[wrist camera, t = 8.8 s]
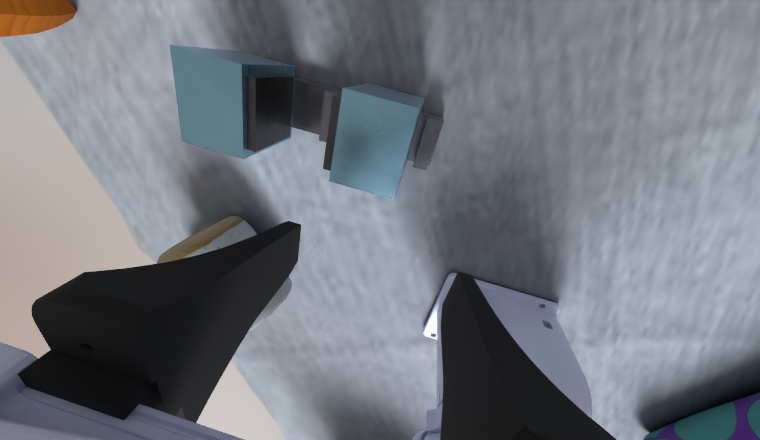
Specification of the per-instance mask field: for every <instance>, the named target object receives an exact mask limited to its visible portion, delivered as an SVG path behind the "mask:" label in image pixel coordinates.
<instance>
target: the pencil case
mask: <svg viewBox="0 0 760 440" xmlns="http://www.w3.org/2000/svg"><path fill="white" fill-rule="evenodd" d="M644 440H760V392H759V393H756V394H754V395H751V396H748V397H744V398H741V399H738V400H735V401H732V402H729V403H726V404H723V405H720V406H717V407H714V408H711V409H708V410H705V411H702V412H699V413H696V414H694V415H691V416H689V417H686V418H683V419H681V420H678V421H676V422H674V423H671V424H669V425H667V426H665V427H662V428H660V429H659V430H656V431H653V432H651V433H649V434H648V435H646V436H645V438H644Z"/></svg>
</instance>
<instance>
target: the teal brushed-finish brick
mask: <svg viewBox="0 0 760 440" xmlns="http://www.w3.org/2000/svg"><path fill="white" fill-rule="evenodd" d="M424 99H425V98H423V97H419V96H415V95H411V94H408V93H404V92H400V91H397V90H393V89H389V88H385V87H382V86H378V85H374V84H371V83H367V84H362V85H356V86H350V87H344V88H343V89H342V93H340V94H336V95H333V96H332V104H331V112H330V119H329V127H328V135H327V143H326V150H325V158H324V166H323V169H326V170H330V171H331V172H330V179H329V181H331V182H334V183H338V184H341V185H344V186H348V187H351V188H355V189H358V190H362V191H365V192H369V193H372V194H376V195H379V196H383V197H386V198H389V199H393V200H394V198H395V196H396V193H397V190H398V187H399V184H400V181H401V178H402V175H403V172H404V169H405V166H406V162H407V159H408V155H409V152H410V148H411V145H412V141H413V138H414V134H415V131H416V127H417V124H418V120H419V117H420V113H421V110H422V106H423V103H424Z"/></svg>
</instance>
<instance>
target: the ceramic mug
mask: <svg viewBox="0 0 760 440" xmlns="http://www.w3.org/2000/svg"><path fill="white" fill-rule="evenodd" d="M255 235H257V233H256V232H255V231H254V229H253V228H252V227H251V226H250V225H249V224H248V223H247V222H246V221H245V220H244V219H242V218H241V217H238V216H230V217H227V218H225V219H223V220H221V221H219V222H217V223H215V224H213V225H211V226H209V227H207V228H205V229H203V230H201V231H199V232H197V233H196V234H194V235H192V236H190V237H189V238H187V239H185V240H183V241H182V242H180V243H178V244H176V245H175V246H173V247H172V248H170V249H169V250H167V251H166V252H164V253H163V254H162V255H161V256H160V257H159V259H158V261H157V264H159V263H164V262H169V261H174V260H178V259H183V258H187V257H192V256H196V255H200V254H203V253H207V252H210V251H214V250H217V249H220V248H223V247H226V246H229V245H231V244H234V243H237V242H239V241H242V240H245V239H247V238H250V237H252V236H255ZM291 286H292V283H291V280H290V278H289V277H288V278H287V279H286V281H285V282H284V284H283V285H282V286H281V287H280V289H279V290H278V291H277V293H276V294H275V295H274V297H273V298H272V299H271V300H270V302H269V303H268V304H267V306H266V307H265V308H264V310H263V311H262V312H261V313H260V315H259V316H258V317H257V319H256V320H255V322H254V323H253V324H252V326H251V327H250V329H249V331H250V330H252V329H253V328H255V327H256V326H258V325H259V324H260V323H261V322H262V321H264V320H265V319H266V318H268V317H269V316H270V315H271V314H272V313H273V312H274V311H275V310H276V309H277V308H278V307H279V306H280V305H281V303H282V302H283V301H284V300H285V299H286V297H287V295H288V294H289V292H290V290H291ZM249 331H248V332H249Z"/></svg>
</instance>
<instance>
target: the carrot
mask: <svg viewBox="0 0 760 440" xmlns="http://www.w3.org/2000/svg"><path fill="white" fill-rule="evenodd" d="M76 11H77V10H76V8H75V7H74V6H73V5H72V3H71V2H70V1H69V0H0V37H4V36H15V35H24V34H33V33H39V32H42V31H46V30H49V29H52V28H55V27H58V26H60V25H62V24H63V23H65V22H67V21H69V20H71V19H73V17H74V15H75V13H76Z"/></svg>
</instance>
